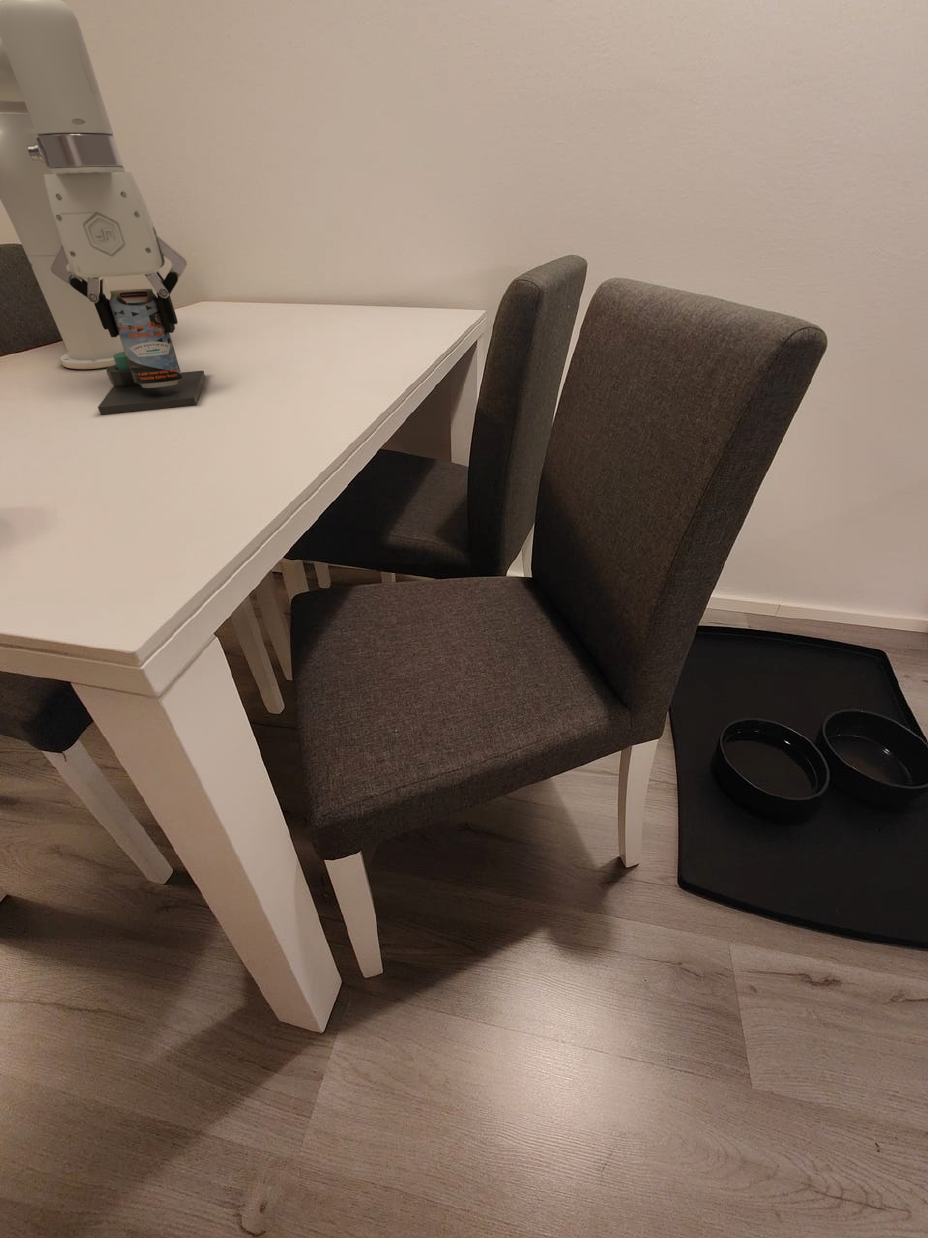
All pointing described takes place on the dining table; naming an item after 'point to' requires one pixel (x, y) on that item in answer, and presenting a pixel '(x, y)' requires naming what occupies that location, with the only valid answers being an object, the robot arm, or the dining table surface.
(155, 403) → the scale
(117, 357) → the button
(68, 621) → the dining table surface
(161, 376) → the beverage can
